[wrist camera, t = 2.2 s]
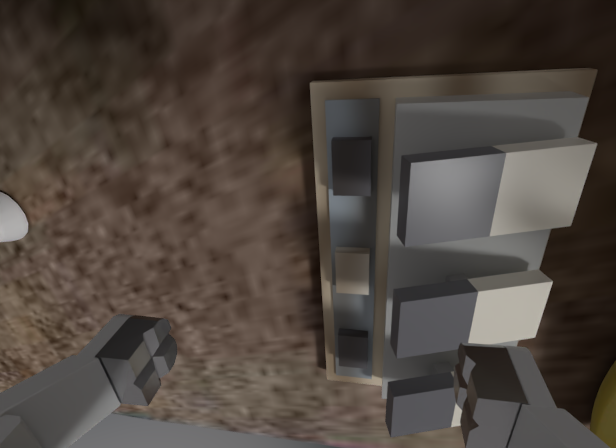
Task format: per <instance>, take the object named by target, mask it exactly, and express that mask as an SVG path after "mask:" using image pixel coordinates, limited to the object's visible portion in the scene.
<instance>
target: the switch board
mask: <svg viewBox="0 0 616 448" xmlns="http://www.w3.org/2000/svg"><path fill="white" fill-rule="evenodd" d="M597 71H598V70H597V69H592V68H573V69H552V70H531V71H510V72H489V73H468V74H447V75H426V76H405V77H384V78H363V79H342V80H321V81H312V82H310V97H311V114H312V131H313V148H314V166H315V183H316V200H317V217H318V234H319V251H320V268H321V285H322V302H323V319H324V336H325V353H326V370H327V380H336V381H344V382H353V383H361V384H370V385H378V386H382V368H383V347H384V327H385V306H386V286H387V265H388V244H389V224H390V203H391V183H392V162H393V141H394V121H395V100H396V98H397V97H424V96H451V95H478V94H506V93H533V92H560V91H572V92H575V93H577V94H580V95H583V96H586V97H589V99H590V95H591V92H592V88H593V85H594V82H595V78H596V75H597ZM588 102H589V100H588ZM587 105H588V103H587ZM586 109H587V107H586ZM585 112H586V110H585ZM584 116H585V113H584ZM583 119H584V117H583ZM582 122H583V120H582ZM581 126H582V124H581ZM580 129H581V127H580ZM579 133H580V131H579ZM578 136H579V134H578ZM550 232H551V230H550ZM549 235H550V233H549ZM548 238H549V237H548ZM547 242H548V240H547ZM546 245H547V243H546ZM545 249H546V247H545ZM544 252H545V250H544ZM543 255H544V254H543ZM542 259H543V257H542ZM541 262H542V261H541ZM540 266H541V264H540ZM539 269H540V267H539ZM518 341H519V340H518ZM517 344H518V343H517ZM516 347H517V346H516Z"/></svg>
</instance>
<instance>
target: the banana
mask: <svg viewBox="0 0 616 448" xmlns="http://www.w3.org/2000/svg"><path fill="white" fill-rule="evenodd" d="M590 431H591V432H592V433H594V434H595V435H596V436H597V437H598V438H600V439H601V440H602V441H603V442H604V443H606V444H607V445H608V446H609V447H610V448H616V361H615V362H614V363H613V365H612V366H611V368H610V369H609V371H608V373H607V374H606V376H605V378H604V380H603V382H602V384H601V386H600V388H599V390H598V393H597V396H596V399H595V402H594V406H593V410H592V416H591V424H590Z"/></svg>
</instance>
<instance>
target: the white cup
mask: <svg viewBox="0 0 616 448" xmlns="http://www.w3.org/2000/svg"><path fill="white" fill-rule="evenodd" d="M27 232H28V221H27V219H26V216H25V214H24V212H23V211H22V209H21V208H20V207H19V205H18V204H17V203H16V202H15V201H14V200H12V199H11V198H10V197H9V196H8V195H6V194H4V193H2V192H0V242H7V241H15V240H19V239H21V238H23V237H24V236H25V235H26V233H27Z"/></svg>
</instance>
